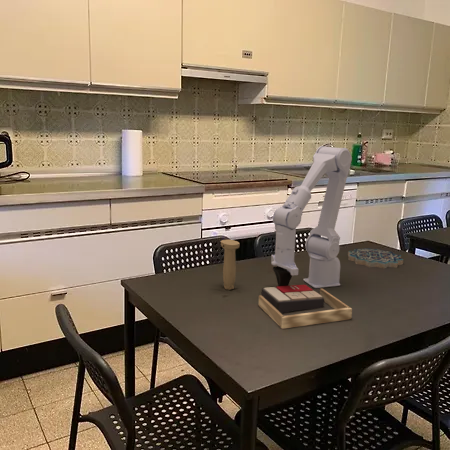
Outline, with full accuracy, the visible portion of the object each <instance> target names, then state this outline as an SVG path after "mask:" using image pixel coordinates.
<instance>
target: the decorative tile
mask: <svg viewBox="0 0 450 450" xmlns="http://www.w3.org/2000/svg"><path fill="white" fill-rule="evenodd" d="M347 256H348V261H352V262H355V264H356V265H363V266H366V267H367V268H380V269H388V268H398V266H401V265H403V264H404V258H402V255H401V254H398V253H394V252H393V251H391V250H384V249H381V248H369V247H365V248H354V250H348V251H347Z"/></svg>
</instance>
